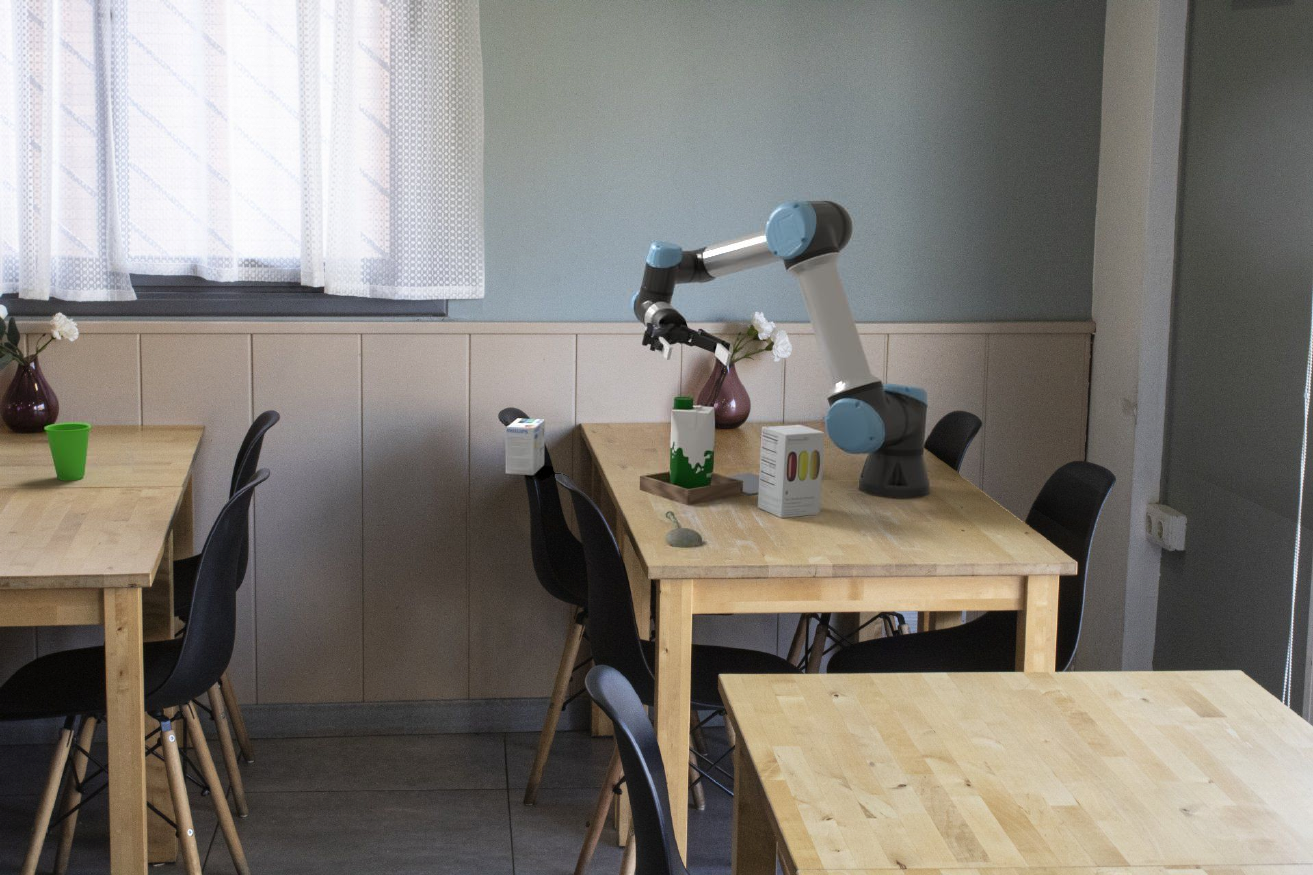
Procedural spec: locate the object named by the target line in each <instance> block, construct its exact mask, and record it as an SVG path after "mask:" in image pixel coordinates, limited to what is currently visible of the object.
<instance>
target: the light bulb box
mask: <svg viewBox="0 0 1313 875" xmlns="http://www.w3.org/2000/svg"><path fill="white" fill-rule="evenodd" d="M545 423H546V420H545V419H544V418H543V419H541V418H519V417H518V418H516V419H514V421H512V422H511V423H510V424H508V425H507V426H506V427H505V474H507V475H508V474H509V475H520V476H521V475H522V476H523V475H524V476H534V475H535V474H536V473H537V472H538V471H540V469H542V467H544V466H545V435H546V434H545V427H546V426H545V425H546V424H545Z"/></svg>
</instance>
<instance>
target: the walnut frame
mask: <svg viewBox="0 0 1313 875" xmlns="http://www.w3.org/2000/svg"><path fill="white" fill-rule="evenodd" d="M728 476H729V475H724V474H721V473H717V472H714V471H713V475H712V480H711V485H710V486H704V487H698V488H692V489H686V488H682V487H679V486H676V485H672V484H671V482H670V470H669V471H664V472H663V471H662V472H657V473H649V474H644V475H639V490H640V491H643V492H646V493H648V492H649V494H652V495H655V494H656V495H655V496H658V497H661V496H662V498H665V499H667V498H669V499H668V500H671V501H674V500H675V501H674V502H677V503H680V502H681V504H683V505H692V504H698V503H699V504H700V503H704V502H710V500H711V501H715V500H720V499H721V498H722V499H726V498H732V497H737V496H743V495H744V494H743V481H742V480H739V479H735V478H731V477H728Z"/></svg>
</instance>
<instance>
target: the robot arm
mask: <svg viewBox="0 0 1313 875" xmlns="http://www.w3.org/2000/svg"><path fill="white" fill-rule="evenodd" d="M853 228H854V227H853V220H852V218H851V215H850V214H849V212H848V211H847V209H845V207H843V206H842V205H841V204H839V203H837V202H834V201H831V200H804V199H803V200H802V199H797V200H793V201H787V202H784V203H782V204H780V205H778V206H777V207H776V208H775V209H774V210H773V211H772V212H771V213H770V215H769V218H768V221H766V225H765V229H764V230H761V231H758V232H757V231H756V232H753V233H751V234H750V233H749V234H746V235H743V236H739V237H737V238H736V237H735V238H733V239H729V240H726V241H725V240H724V241H722V242H718V243H716V244H715V243H714V244H712V245H708V246H705V247H700V248H697V249H692V250H683V248H682V247H681V246H680V245H678V244H676V243H672V242H671V241H670V242H669V241H662V240H656V241H654V242H652V243H651V245H650V246H649V247H650V248H649V251H648V255H647V257H646V262H645V268H644V271H643V276H642V281H641V285H640V288H639V290H637V291H636V293H634V295H633V296H632V297H631V301H630V307H631V308H630V309H631V310H632V313H633V314H634V316H635V317H636V319H637V320H638V321H639V322H640V323H642V324H643V325H644V326H645V329H644V333H643V337H642V341H641V345H642V346H644V347H646V346H648V345H650V348H649V351H652V352H655V351H658V352H659V353H660V354H661V355H662V356H663V357H664V358H665V359H666V360H668V361H670V360H671V356H672V352H673V345H675V344H680V345H683V344H684V345H686V346H688V347H698V348H700V349H702V350H705V351H707V352H711V353H714V356H715V357H716V358H717V359H718V360H719V361H720V362H721V363H722V364H723V365H724V366H726V367H729V366H730V363H731V358H732V355H733V354H732V352H730V347H731V343H730V342H727V341H726V340H724V339H721V338H719V337H717V336H715V335H713V334H711V333H709V332H707V331H705V330H704V329H703V328H698V330H694V329H692V328H690V327H689V326H688V322H687V320H686V318H685V317H684V316H683V315H682V314H681V313H680V312H679V311H678V310H677V309H676V308H675V307H673V305H671V302H672V299H673V295H674V290H675V288H676V285H679V284H680V285H681V284H683V285H684V284H691V283H692V284H693V283H699V284H701V283H702V284H703V283H707V282H711V281H715V280H716V279H717V278H720V277H723V276H728V275H732V274H736V273H738V272H742V271H746V270H751V269H753V268H758V267H763V266H765V265H769V264H772V263H777V262H781V261H782V262H783V265H784V267H785V271H786V274H788V275H790V276H792V277H794V278H795V279H796V281H797V284H798V287H799V290H800V294H801V296H802V299H803V303H804V306H805V310H806V311H807V316H808V318H809V322H810V325H811V328H812V331H813V335H814V337H815V340H816V343H817V347H818V350H819V352H820V353H819V354H820V355H821V359H822V361H823V364H824V368H825V371H826V374H827V377H828V380H829V383H830V389H829V392H828V393H827V396H826V397H827V398H826V399H827V401H828V405H829V409H828V410H827V416H825V422H824V423H825V429H826V432H827V435H828V437H829V439H830V440H831V442H832V443H833V444H834V446H836V447H837V448H838V449H839V450H842V451H843V452H845V453H847V454H851V455H861V454H863V455H864V454H866V455H867V454H868V455H867V456H866V459H865V461H864V465H863V467H862V470H861V474H860V475H859V478H858V486H857V487H858V489H859V490H860V491H861V492H864V493H866V494H869V495H874V496H878V497H885V498H899V499H900V498H901V499H903V498H905V499H907V498H908V499H909V498H910V499H911V498H912V499H913V498H920V497H921V498H922V497H925V496H926V495H928V494H929V493H930V487H931V482H930V479H929V477H928V471H927V466H926V462H925V457H924V453H925V452H924V451H925V450H924V449H925V439H926V438H925V437H926V424H927V413H928V412H927V411H928V407H929V406H928V405H929V403H928V392H927V390H925V388H923V387H919V386H913V385H906V384H899V383H890V382H886V383H885V382H882V379H881V378H879V377H877V376H875V375H873V374H872V372H871V368H870V366H869V362H868V360H867V356H866V353H865V350H864V347H863V344H862V341H861V338H860V335H859V332H858V328H857V326H856V323H855V319H854V316H853V313H852V310H851V308H850V305H849V301H848V297H847V295H846V292H845V289H844V285H843V282H842V280H841V276H840V274H839V270H838V267H837V263H838V261H839V259H840V258H841V251H842V250H844V249H845V248H846V246H847V245H848V244H849V242H850V241H851V238H852V234H853ZM671 345H672V346H671Z"/></svg>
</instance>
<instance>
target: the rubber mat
mask: <svg viewBox="0 0 1313 875" xmlns="http://www.w3.org/2000/svg"><path fill="white" fill-rule="evenodd" d="M759 475H760V474H756V473H752V472H744V473H738V474H732V475H727V476H728V477H731V478H735V479H739V480H742V481H743V495H746V496H754V495H758V494H759Z"/></svg>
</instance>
